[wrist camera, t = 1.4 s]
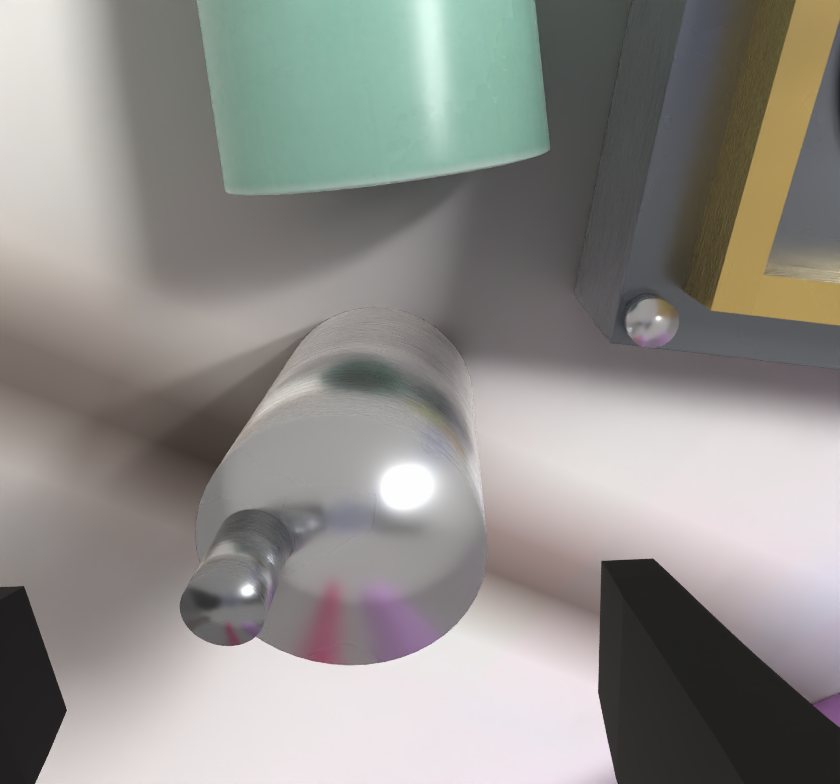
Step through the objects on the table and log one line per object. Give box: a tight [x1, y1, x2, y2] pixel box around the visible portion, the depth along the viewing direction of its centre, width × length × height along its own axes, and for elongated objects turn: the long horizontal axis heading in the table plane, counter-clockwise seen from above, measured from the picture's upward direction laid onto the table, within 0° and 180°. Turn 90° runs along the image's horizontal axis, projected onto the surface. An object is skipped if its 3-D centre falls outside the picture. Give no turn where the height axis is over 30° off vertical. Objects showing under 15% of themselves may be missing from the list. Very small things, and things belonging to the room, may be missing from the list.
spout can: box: [180, 307, 488, 665], centre depth 12 cm, size 4×4×8 cm
